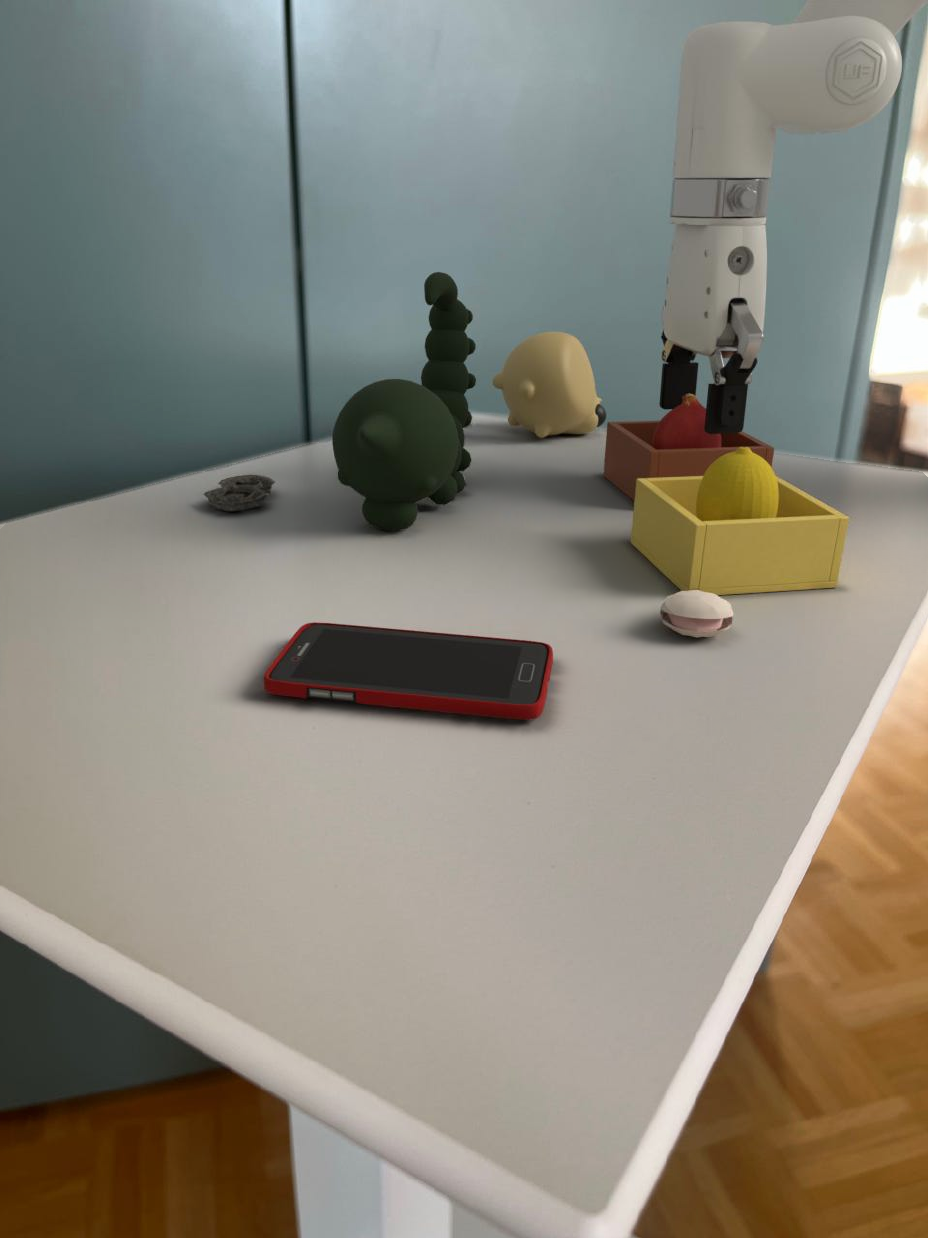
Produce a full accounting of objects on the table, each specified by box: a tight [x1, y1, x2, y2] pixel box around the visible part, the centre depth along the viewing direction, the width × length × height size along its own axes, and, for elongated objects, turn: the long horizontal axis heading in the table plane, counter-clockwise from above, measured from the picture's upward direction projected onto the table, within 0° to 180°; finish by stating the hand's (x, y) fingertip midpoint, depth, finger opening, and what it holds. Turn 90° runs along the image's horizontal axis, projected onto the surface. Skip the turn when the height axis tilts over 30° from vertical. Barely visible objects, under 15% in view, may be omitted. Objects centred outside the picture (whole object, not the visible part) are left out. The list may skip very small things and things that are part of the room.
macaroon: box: [659, 590, 734, 639], centre depth 61 cm, size 4×5×2 cm
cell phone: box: [263, 621, 554, 721], centre depth 54 cm, size 8×15×1 cm, turn 81°
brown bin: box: [603, 420, 775, 502], centre depth 87 cm, size 11×11×5 cm
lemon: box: [696, 447, 779, 522], centre depth 70 cm, size 6×6×8 cm
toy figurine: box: [331, 271, 477, 532], centre depth 79 cm, size 9×19×25 cm
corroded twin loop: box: [204, 474, 276, 512], centre depth 83 cm, size 5×8×1 cm, turn 175°
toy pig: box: [492, 331, 607, 439], centre depth 105 cm, size 10×12×11 cm
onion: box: [652, 394, 721, 450], centre depth 87 cm, size 6×6×8 cm
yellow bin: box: [630, 475, 850, 596], centre depth 71 cm, size 11×11×5 cm
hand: (698, 419), depth 86 cm, fingers open, 9 cm apart
